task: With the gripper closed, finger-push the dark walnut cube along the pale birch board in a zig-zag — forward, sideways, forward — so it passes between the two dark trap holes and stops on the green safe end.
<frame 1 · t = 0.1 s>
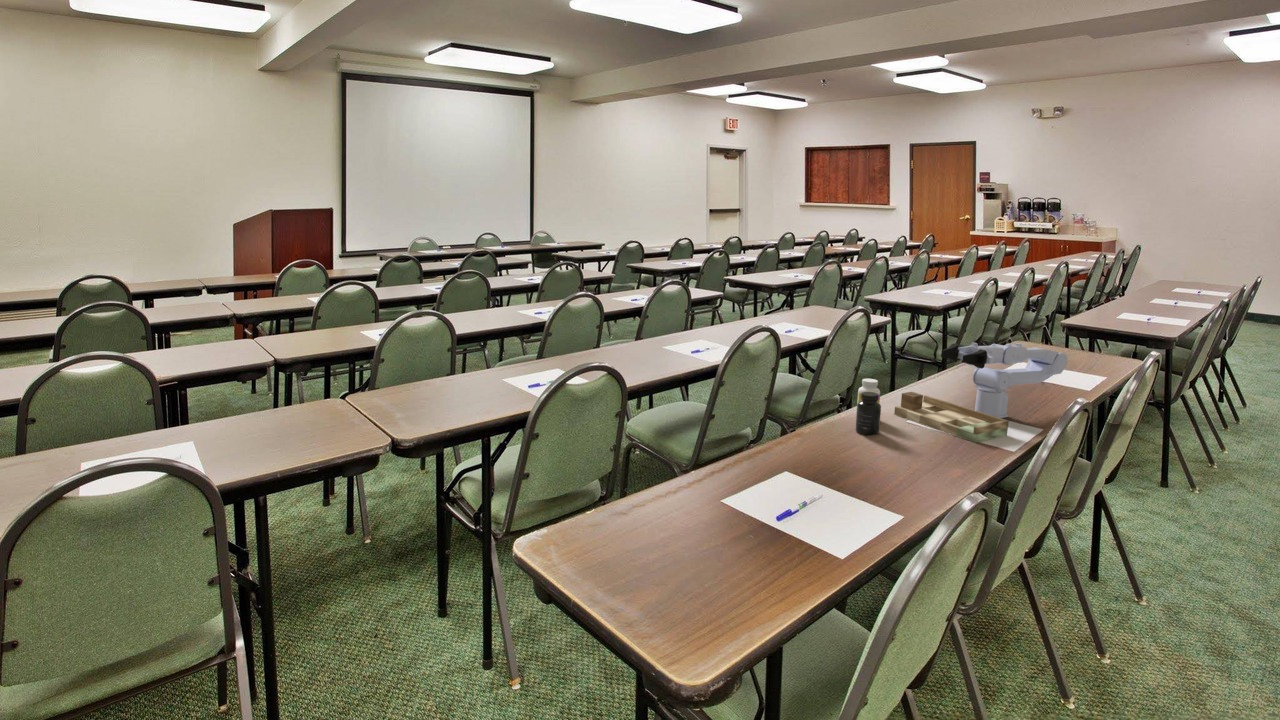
hand: (952, 356, 214), 22 cm above the table, tool horizontal, fingers open, 7 cm apart
supplement bottle: (866, 432, 212), on the table
supplement bottle 2: (866, 420, 224), on the table
trap board: (948, 424, 220), on the table
walnut block: (911, 407, 228), point 2 cm above the table, touching trap board
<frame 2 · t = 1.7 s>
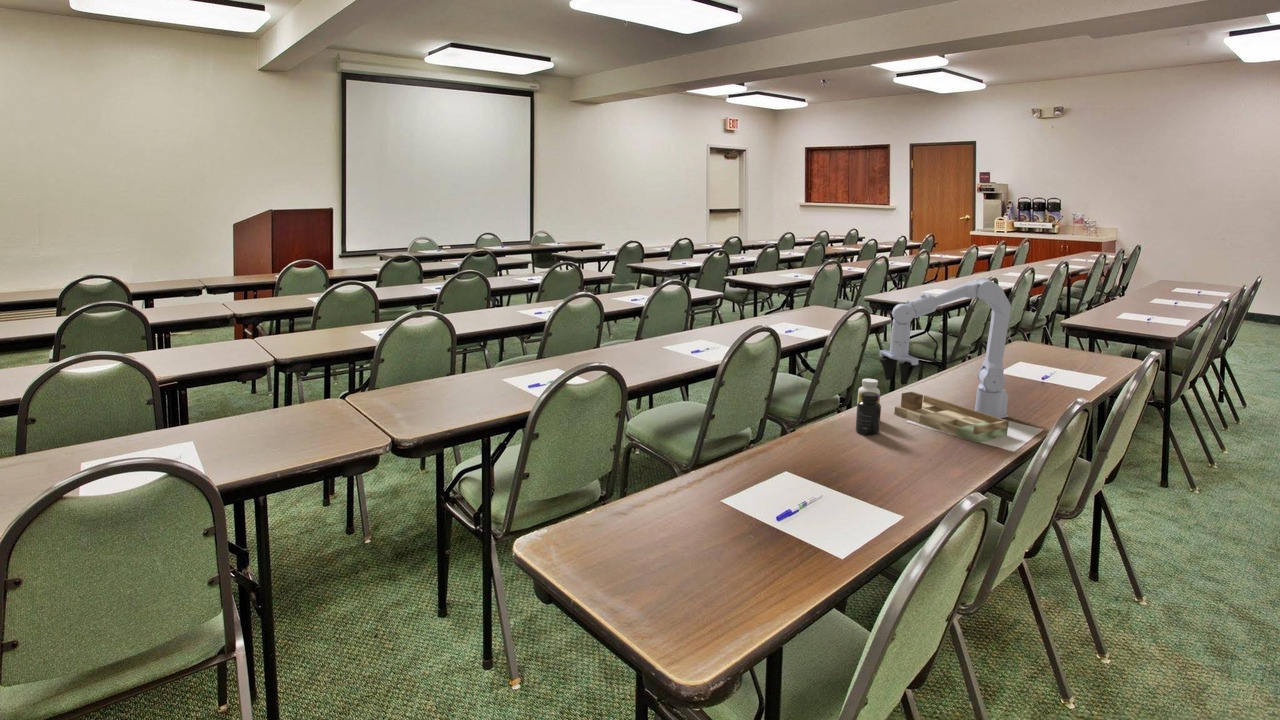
hand: (896, 381, 232), 9 cm above the table, tool pointing down, fingers open, 6 cm apart
nothing on the table moved.
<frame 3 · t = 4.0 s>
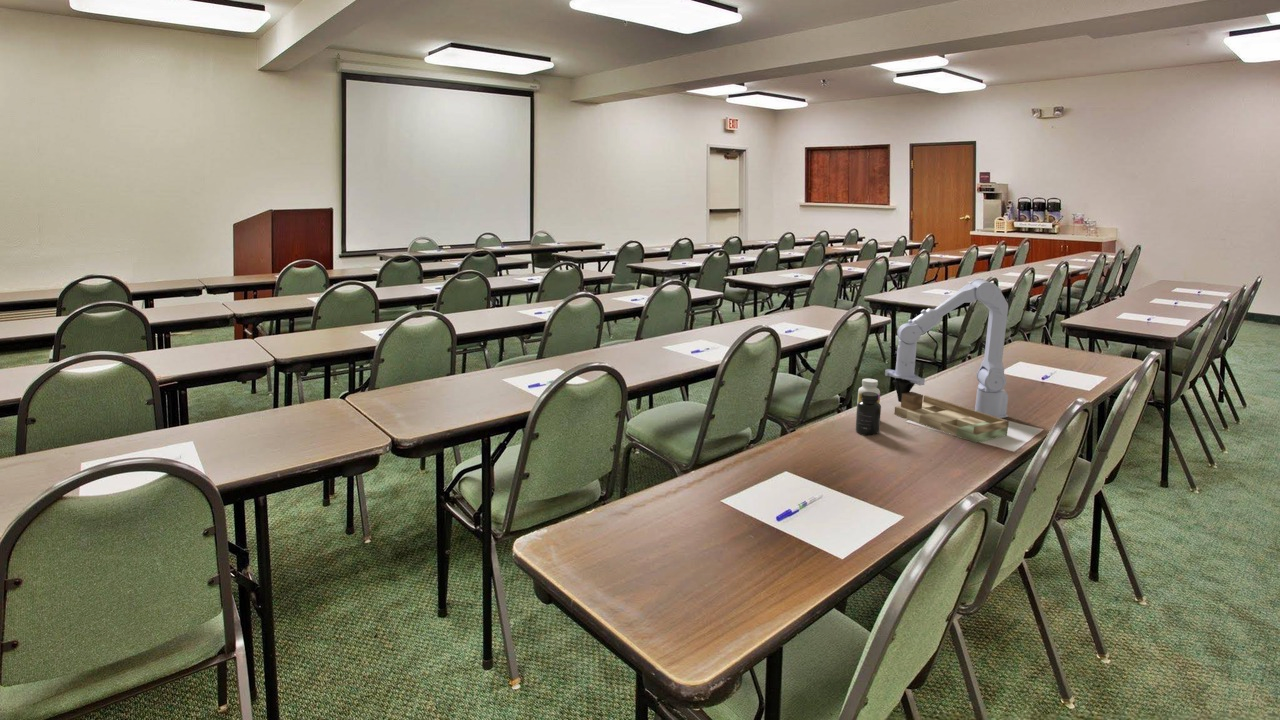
hand: (902, 401, 231), 3 cm above the table, tool pointing down, fingers closed
walnut block: (911, 407, 228), point 3 cm above the table, touching gripper, trap board
everything else where it was.
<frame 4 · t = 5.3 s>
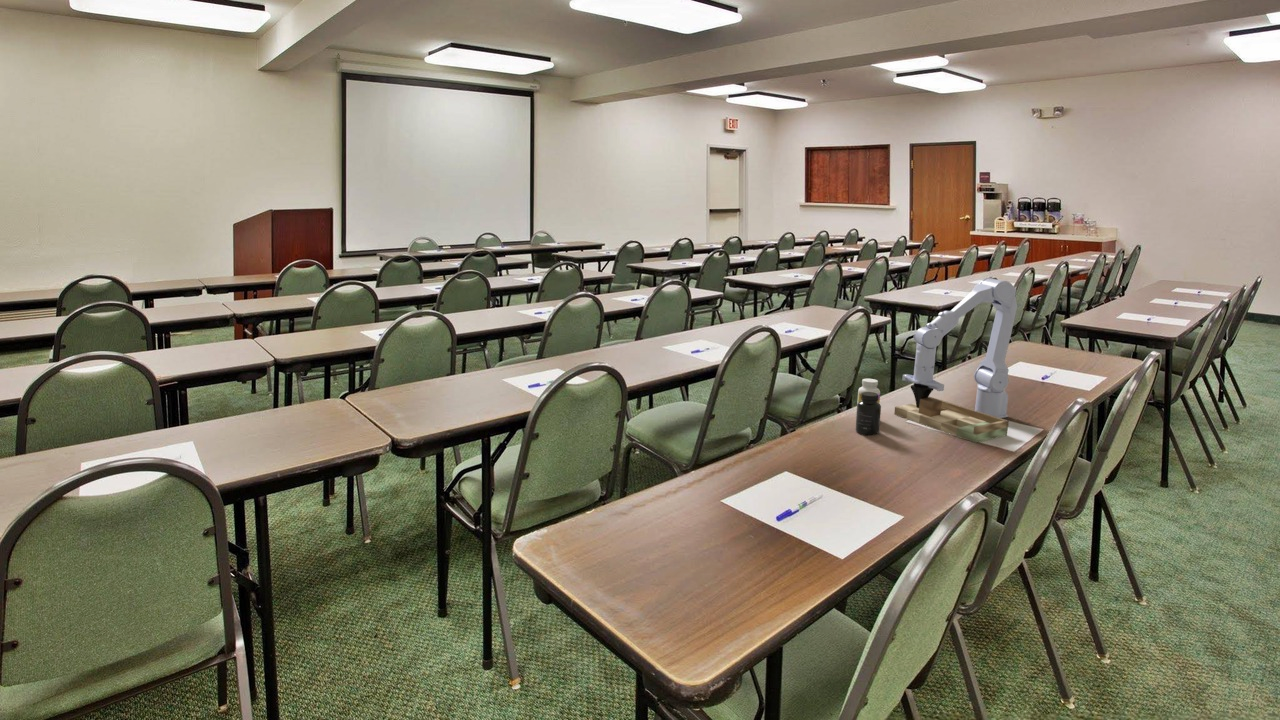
hand: (920, 407, 225), 4 cm above the table, tool pointing down, fingers closed
walnut block: (929, 413, 222), point 3 cm above the table, touching gripper
everything else where it was.
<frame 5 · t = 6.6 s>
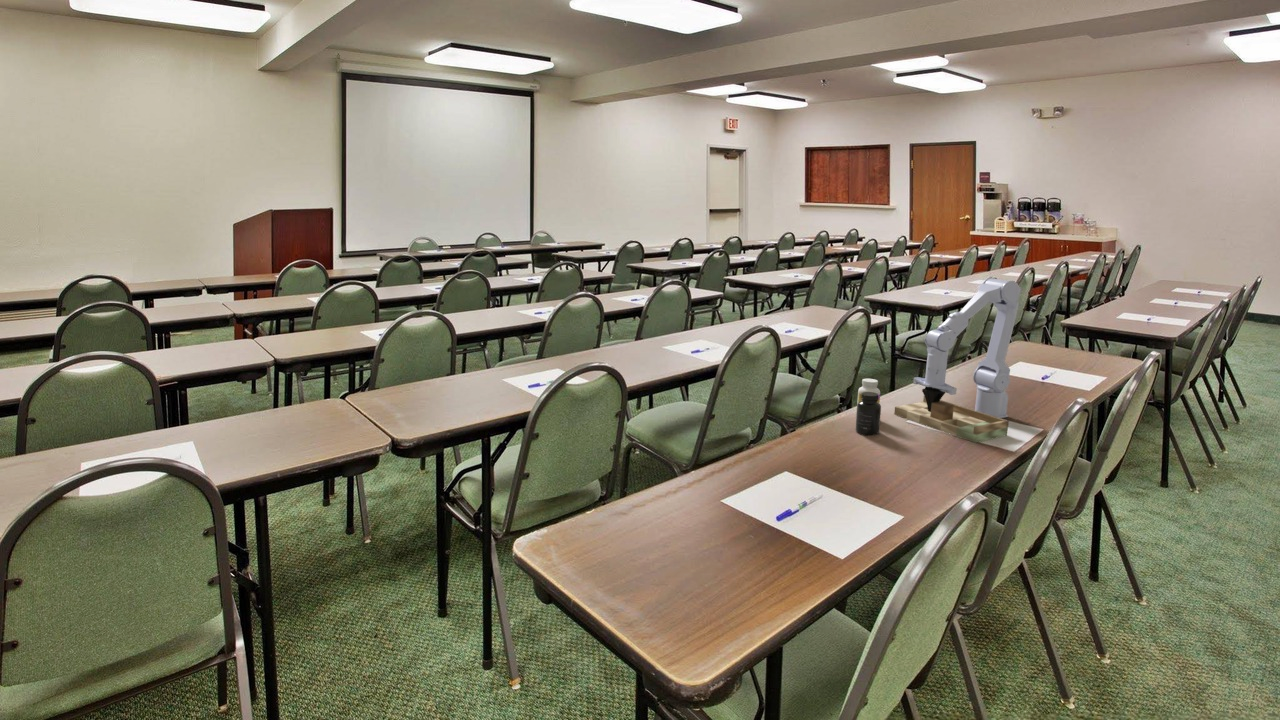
hand: (931, 411, 221), 4 cm above the table, tool pointing down, fingers closed
walnut block: (941, 417, 218), point 3 cm above the table, touching gripper, trap board
everything else where it was.
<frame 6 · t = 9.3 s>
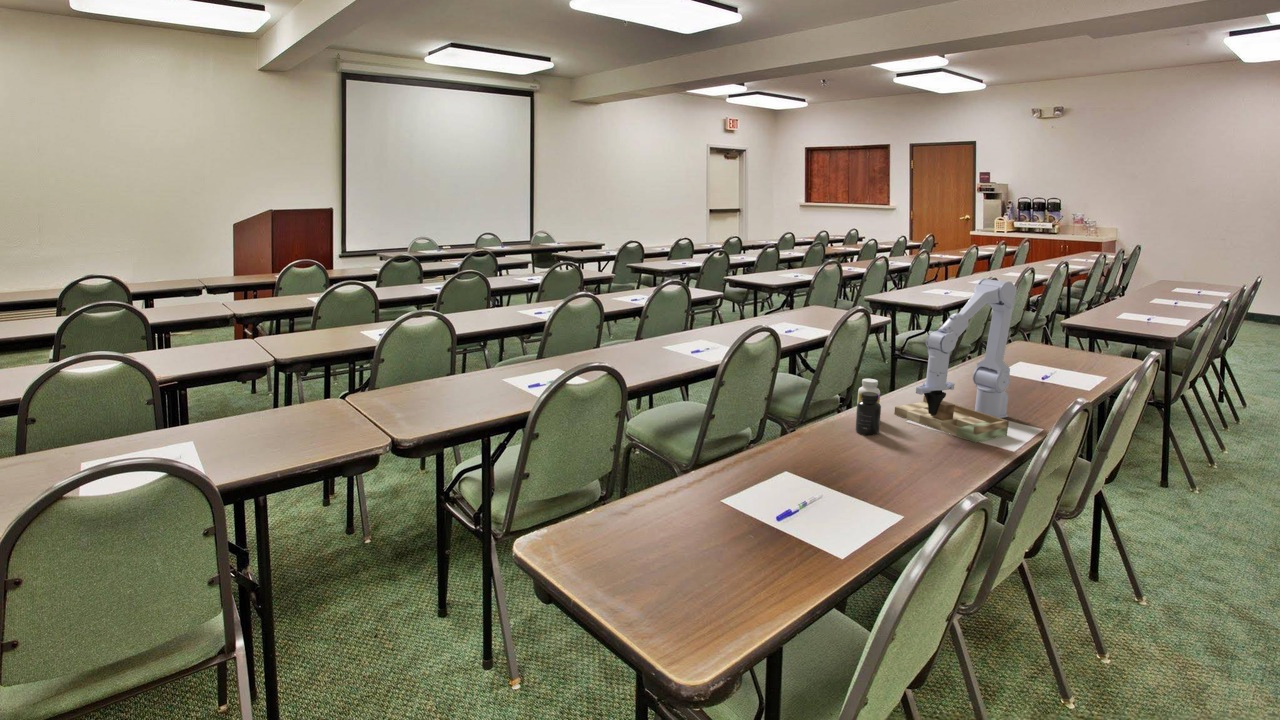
hand: (932, 414, 217), 4 cm above the table, tool pointing down, fingers closed, pressing on walnut block
walnut block: (941, 417, 218), point 3 cm above the table, touching gripper, trap board
everything else where it was.
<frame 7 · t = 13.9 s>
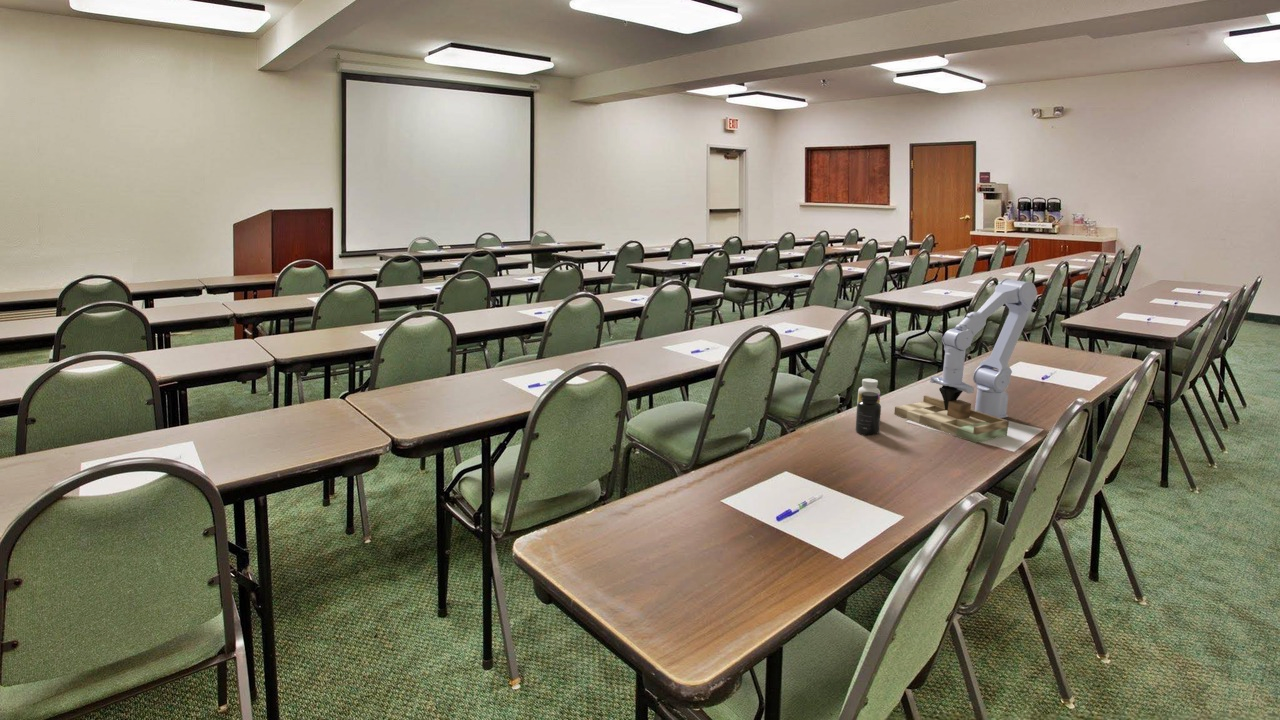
hand: (948, 409, 222), 4 cm above the table, tool pointing down, fingers closed
walnut block: (958, 416, 219), point 3 cm above the table, touching gripper
everything else where it was.
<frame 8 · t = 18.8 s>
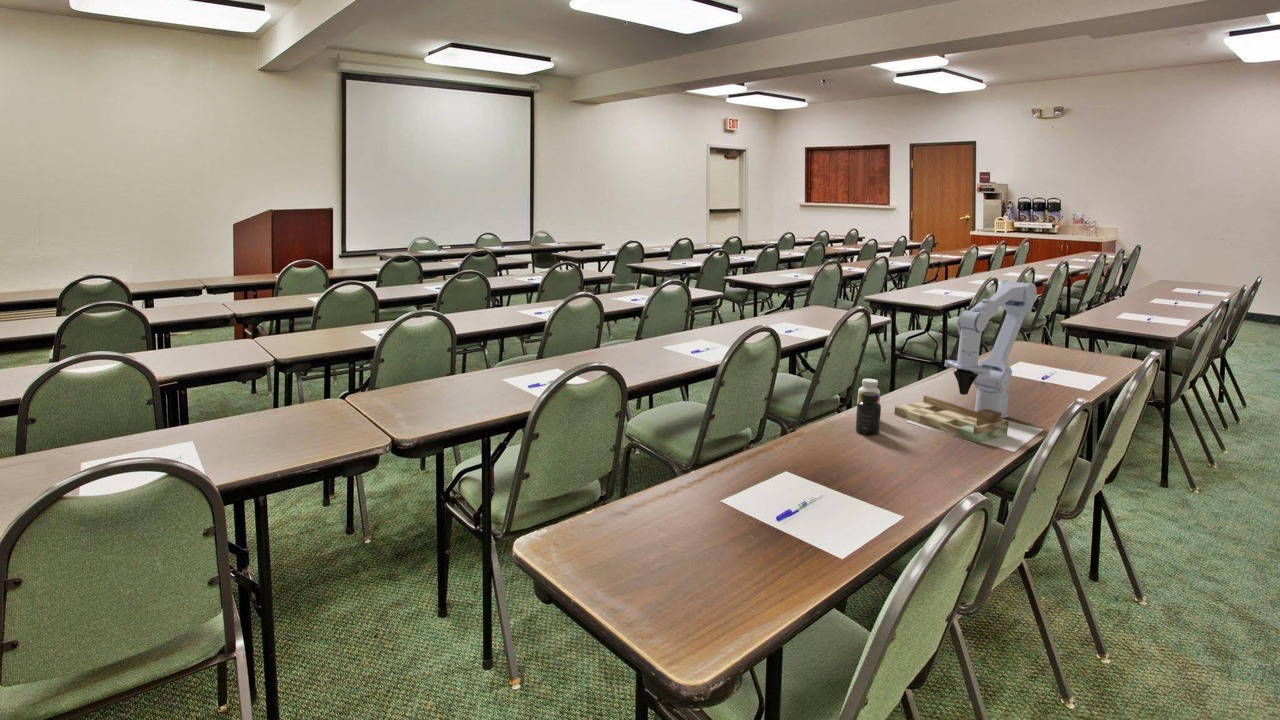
hand: (963, 394, 217), 10 cm above the table, tool pointing down, fingers closed
walnut block: (988, 426, 210), point 2 cm above the table, touching trap board
everything else where it was.
at the end: walnut block inside the target area (0.4 cm from its centre), point 2.5 cm above the table; walnut block tilted 0°; walnut block touching trap board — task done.
